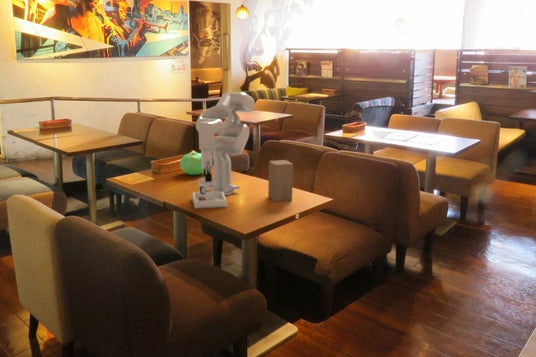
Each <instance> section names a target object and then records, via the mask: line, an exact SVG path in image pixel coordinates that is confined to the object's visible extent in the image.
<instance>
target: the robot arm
mask: <svg viewBox="0 0 536 357" xmlns="http://www.w3.org/2000/svg"><path fill="white" fill-rule="evenodd" d="M255 107H256V106H255V100H254V98H253V97H252V96H251V95H249V94H247V93H246V92H243V91H227V92H224V93H223V94H222V96H221V97H220V99H219V101H217V103H216V105H213V106H212V107H210V108H207V109H206V110H203V111H202V112H201V114H200V115H199V116H198V118H197V120H196V123H195V129H196V130H197V132H198V146H199V151H201V152H200V153H201V166H202V169H203V170H204V172H203V177H204V178H205V181H206V182H211V181H212V178H215V179H216V192H222V191H223V193H224V195H225V196H229V195H232V194H234V193H235V190H240V185H237V184H232V160H231V157H230V156H229V155H237V156H239V155H241V154H242V153H243V152H244V149H245V147H246V145H247V142H248V140H249V137H250V127H249V126H248V125H247V124H246V123H241V118H240V116H239V114H238V113H237V112H240V113H242V112H243V113H250V112H253V111H254V109H255ZM222 119H225V121H223V120H222ZM218 134H220V135H218ZM215 135H216V136H215ZM212 156H213V158H212ZM212 169H213V174H212ZM212 176H213V177H212Z"/></svg>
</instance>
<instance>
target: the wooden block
mask: <svg viewBox="0 0 536 357" xmlns="http://www.w3.org/2000/svg"><path fill="white" fill-rule="evenodd" d="M293 175H294V164H293V163H292V162H290V161H289V160H288V159H287V160H286V159H278V160H277V159H276V160H269V161H268V192H267V193H268V198H270V199H271V200H272V201H273V202H274V203H276V202H287V201H292V200H293V183H294V182H293V181H294V179H293V177H294V176H293Z"/></svg>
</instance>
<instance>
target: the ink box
mask: <svg viewBox="0 0 536 357" xmlns="http://www.w3.org/2000/svg"><path fill="white" fill-rule="evenodd" d="M198 192H199V201H209V200H215V197H216V179H215V178H214V177H212V181H211V182H206V181H205V177H199V178H198Z"/></svg>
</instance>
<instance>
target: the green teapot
mask: <svg viewBox="0 0 536 357" xmlns="http://www.w3.org/2000/svg"><path fill="white" fill-rule="evenodd" d="M212 159H214V158H213V155H212ZM179 165H180V168H181V170H182V172H184V173H185V174H187V175H191V176H199V175H202V174H204V170H203V169H202V166H201V152H197V151H195V150H191V152H188V153H187V154H184V155H183V156H182V158H181V160H180V162H179Z"/></svg>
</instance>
